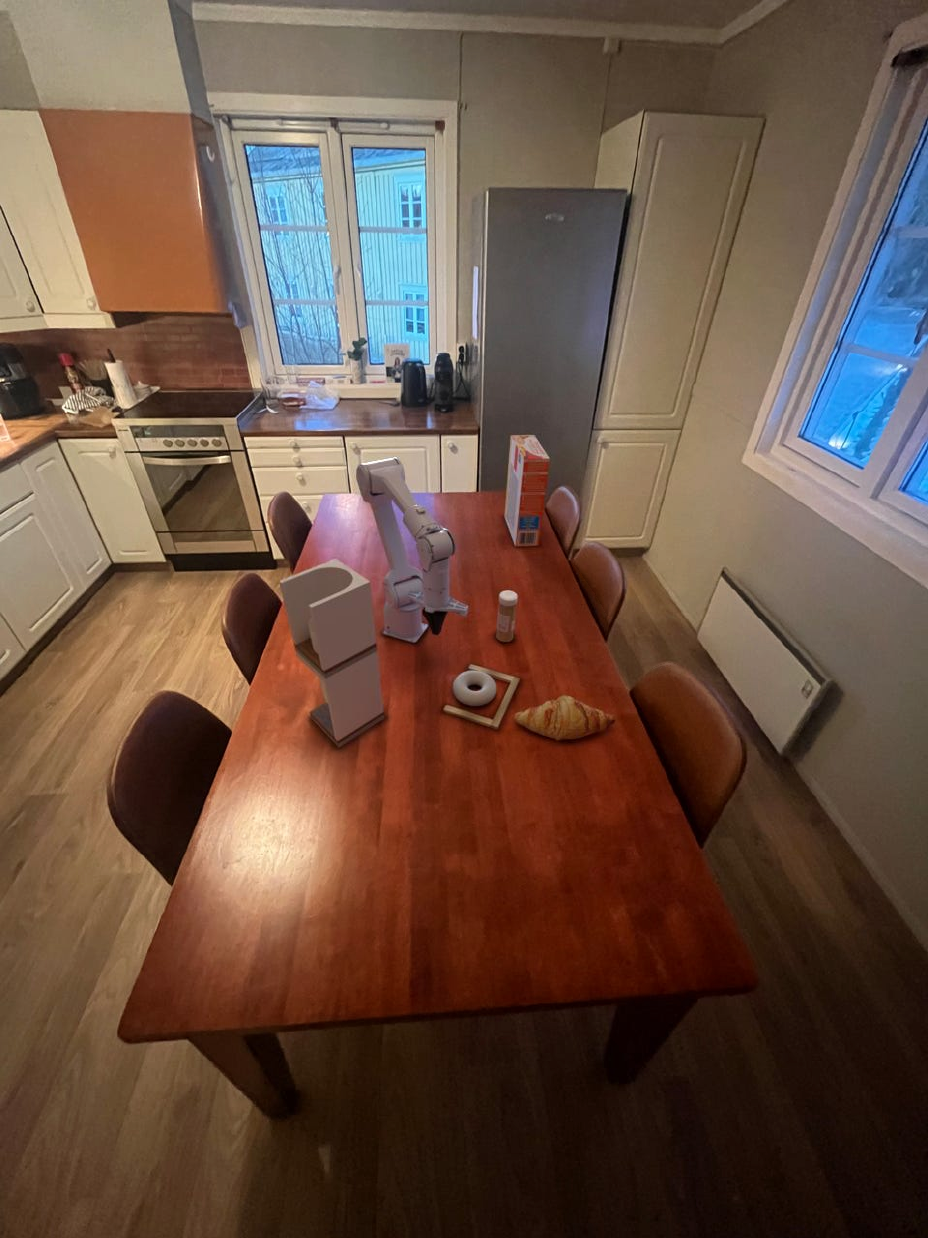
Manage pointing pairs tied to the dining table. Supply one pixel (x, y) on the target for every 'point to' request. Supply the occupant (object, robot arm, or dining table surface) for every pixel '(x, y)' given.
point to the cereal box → (526, 489)
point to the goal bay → (503, 706)
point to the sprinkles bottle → (506, 615)
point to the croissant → (564, 719)
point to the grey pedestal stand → (337, 645)
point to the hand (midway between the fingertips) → (436, 632)
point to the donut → (474, 696)
